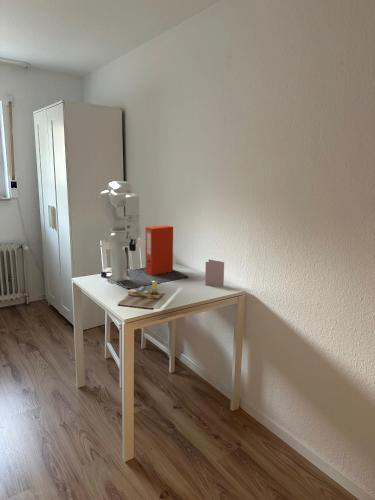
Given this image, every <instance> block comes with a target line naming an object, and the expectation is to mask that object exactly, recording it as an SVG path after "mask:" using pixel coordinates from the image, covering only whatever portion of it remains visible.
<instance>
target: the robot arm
mask: <svg viewBox="0 0 375 500" xmlns="http://www.w3.org/2000/svg"><path fill="white" fill-rule="evenodd" d="M132 192H133V187H132V184H131V183H130V182H128V181H111V182H109V183H108V185H107V190H104V191H101V192H100V193H99V196H98V198H99V199H98V200H99V204H100V207H101V209H102V211H103V212H104V214H105V218H106V223H107V228H108V230H109V231H110V232H111V233H110V234H109V236H108V243H109V246H110V262H111V263H110V266H111V267H110V268H111V269H112V273H111V274H109V273H107V274H106V276H107V277H106V278H109V280H108V281H109V282H110V283H111V284H115V283H117V282H123V281H126V280H127V281H130V278H129V276H128V274H127V270H128V269H127V267H128V264H127V258H128V257H127V252H126V251H125V250H124V249H123V248H125V247H128V248H129V249H128V250H129V251H130V252H135V251H136V249H137V248H136V247H137V244H138V238H140V237H141V225H140V197H139V196H138V195H137V194H136V193H134V192H133V193H132ZM117 208H125V209H124V210H125V212H124V216H121V215H120V212H119V210H118V209H117Z"/></svg>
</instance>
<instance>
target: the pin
mask: <svg viewBox="0 0 375 500" xmlns="http://www.w3.org/2000/svg"><path fill="white" fill-rule="evenodd" d="M151 289H152V290H151V291H152V295H157V292H158V280H157V279H156V280H155V279H154V280H152V281H151Z"/></svg>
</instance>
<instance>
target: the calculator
mask: <svg viewBox="0 0 375 500" xmlns="http://www.w3.org/2000/svg"><path fill="white" fill-rule="evenodd" d="M128 271H129V270H128V269H127V275H128ZM107 273H109V274H111V273H112V269H111V267H106V268H104V269H103V270H102V271H101V272H100V277H101V278H108V277H107V276H106V274H107ZM103 276H104V277H103Z"/></svg>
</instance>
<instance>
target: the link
mask: <svg viewBox="0 0 375 500" xmlns="http://www.w3.org/2000/svg"><path fill="white" fill-rule="evenodd" d="M162 293H163V292H161V291H157V295H152V290H151V291H150V290H146V291H144V290H143V291H141V292H137V289H133V288H131V289H128V291H127V294H128V295H136V296H147V298H156V299H159V298H160V297H161V296H162ZM128 295H127V296H128Z"/></svg>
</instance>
